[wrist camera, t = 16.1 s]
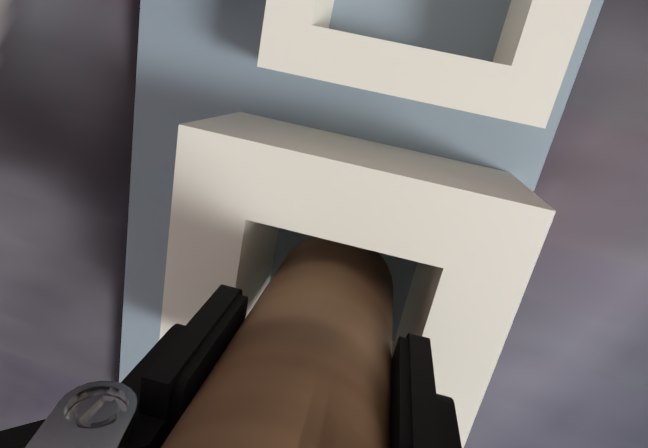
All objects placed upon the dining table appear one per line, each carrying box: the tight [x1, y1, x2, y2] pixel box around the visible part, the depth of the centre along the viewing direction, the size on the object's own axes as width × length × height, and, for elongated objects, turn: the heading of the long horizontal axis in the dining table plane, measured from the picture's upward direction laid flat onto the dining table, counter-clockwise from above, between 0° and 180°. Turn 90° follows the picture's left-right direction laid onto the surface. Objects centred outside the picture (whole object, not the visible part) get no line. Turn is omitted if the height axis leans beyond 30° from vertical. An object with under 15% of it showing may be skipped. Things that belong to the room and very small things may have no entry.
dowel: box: [161, 236, 393, 448], centre depth 10 cm, size 4×4×12 cm
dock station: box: [119, 0, 604, 448], centre depth 15 cm, size 25×15×6 cm, turn 168°
